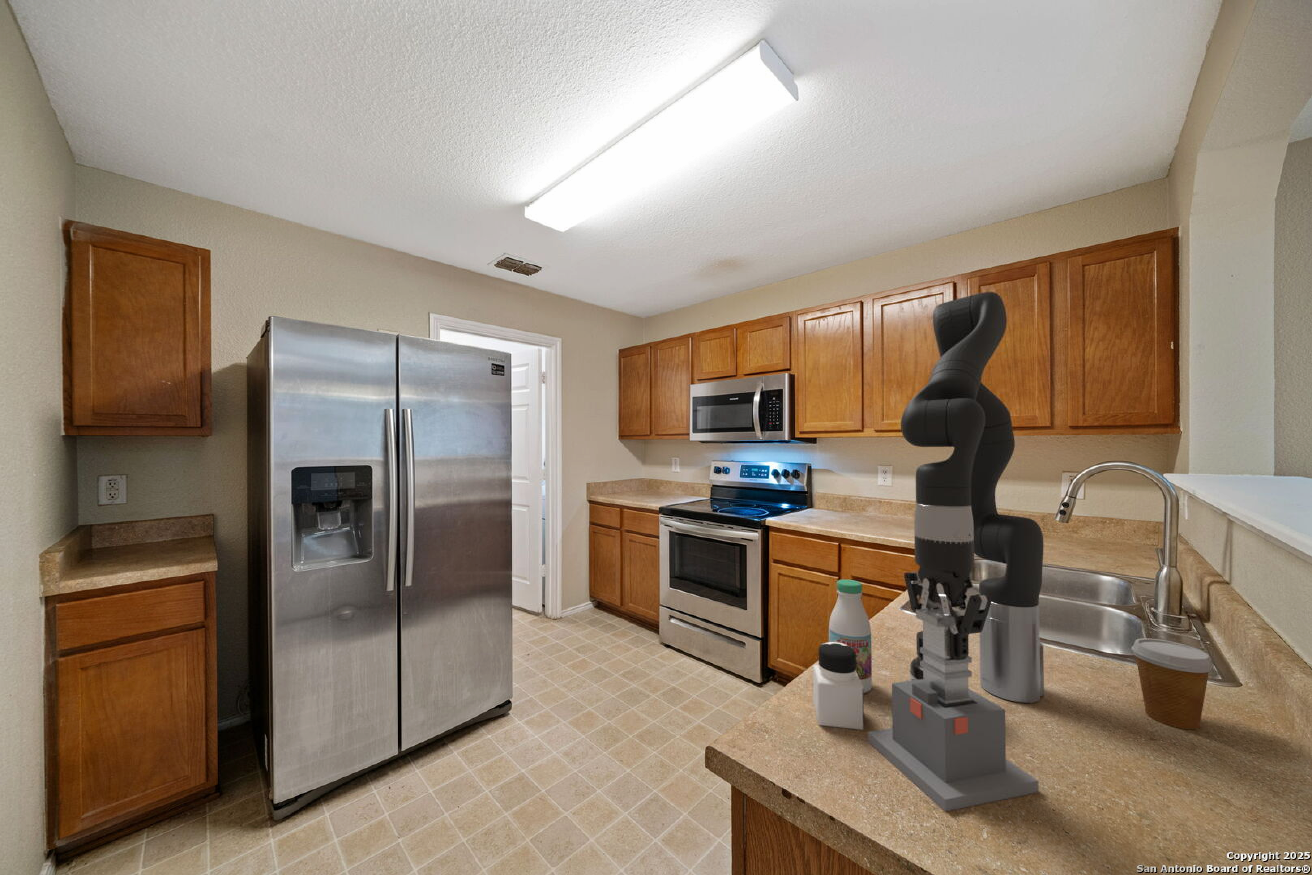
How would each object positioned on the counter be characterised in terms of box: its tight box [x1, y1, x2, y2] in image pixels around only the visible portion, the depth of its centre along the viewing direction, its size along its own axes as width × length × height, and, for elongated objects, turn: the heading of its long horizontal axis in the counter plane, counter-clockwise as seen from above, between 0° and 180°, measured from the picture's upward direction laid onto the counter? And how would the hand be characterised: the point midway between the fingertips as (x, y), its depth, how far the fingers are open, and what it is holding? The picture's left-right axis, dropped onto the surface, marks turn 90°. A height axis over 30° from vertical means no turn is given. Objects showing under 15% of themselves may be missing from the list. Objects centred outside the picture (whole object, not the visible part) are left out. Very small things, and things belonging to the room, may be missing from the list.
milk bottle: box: [828, 578, 873, 694], centre depth 94 cm, size 8×8×20 cm
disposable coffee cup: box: [1131, 637, 1214, 730], centre depth 82 cm, size 10×10×12 cm
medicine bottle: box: [812, 641, 865, 731], centre depth 83 cm, size 7×7×12 cm
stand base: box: [867, 679, 1039, 812], centre depth 71 cm, size 15×15×12 cm
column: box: [915, 607, 973, 708], centre depth 71 cm, size 6×5×18 cm
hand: (944, 651), depth 71 cm, fingers closed on column, 4 cm apart
